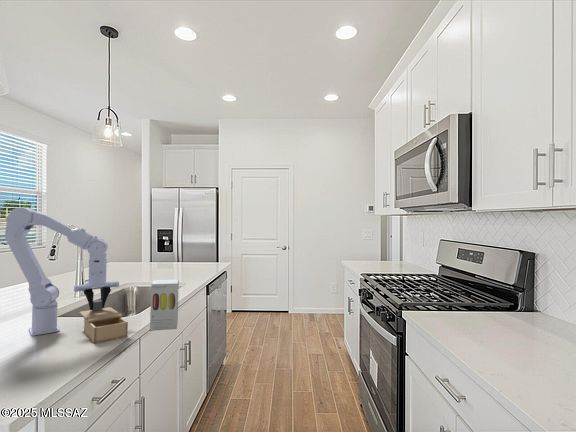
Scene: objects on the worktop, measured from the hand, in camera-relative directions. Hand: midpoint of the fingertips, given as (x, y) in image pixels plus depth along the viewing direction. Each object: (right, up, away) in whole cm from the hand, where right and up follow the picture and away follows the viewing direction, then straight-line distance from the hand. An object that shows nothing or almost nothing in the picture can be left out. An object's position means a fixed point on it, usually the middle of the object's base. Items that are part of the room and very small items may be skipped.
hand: (96, 308), depth 124 cm
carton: (+8, -7, -9) cm, 14 cm away
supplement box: (+25, -7, +1) cm, 26 cm away
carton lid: (+3, -1, -4) cm, 5 cm away
